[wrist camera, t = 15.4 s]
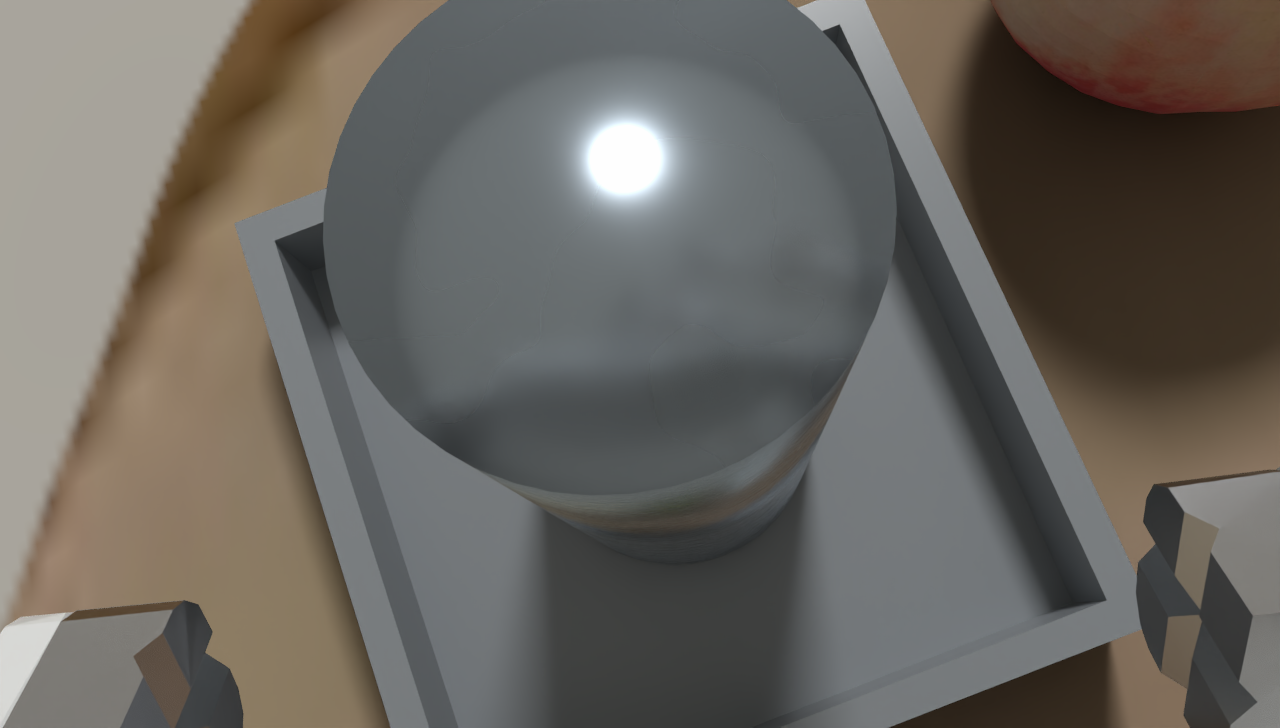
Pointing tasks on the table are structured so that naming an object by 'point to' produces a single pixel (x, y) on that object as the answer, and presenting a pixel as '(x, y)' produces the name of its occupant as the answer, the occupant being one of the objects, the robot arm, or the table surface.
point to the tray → (760, 570)
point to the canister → (616, 254)
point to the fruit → (1156, 50)
